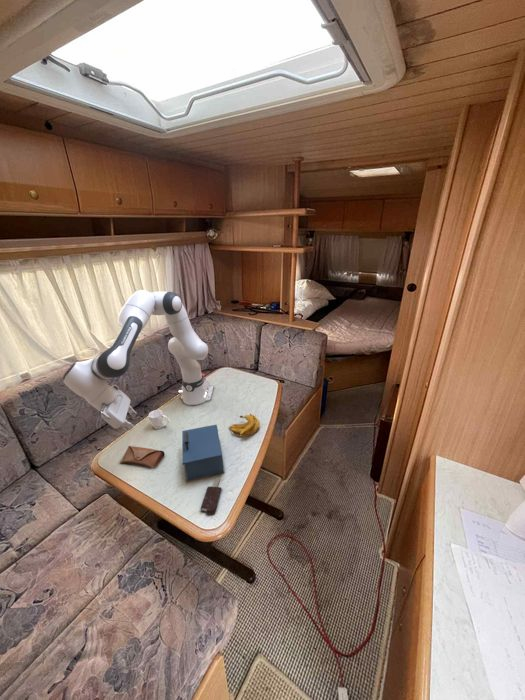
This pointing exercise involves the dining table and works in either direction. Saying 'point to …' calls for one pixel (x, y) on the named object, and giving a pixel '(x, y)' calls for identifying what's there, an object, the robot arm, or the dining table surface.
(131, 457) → the sunglasses case
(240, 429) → the banana
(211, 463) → the cool box
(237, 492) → the dining table surface
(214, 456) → the cool box lid
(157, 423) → the cup
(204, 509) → the ice cream bar
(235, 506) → the dining table surface
